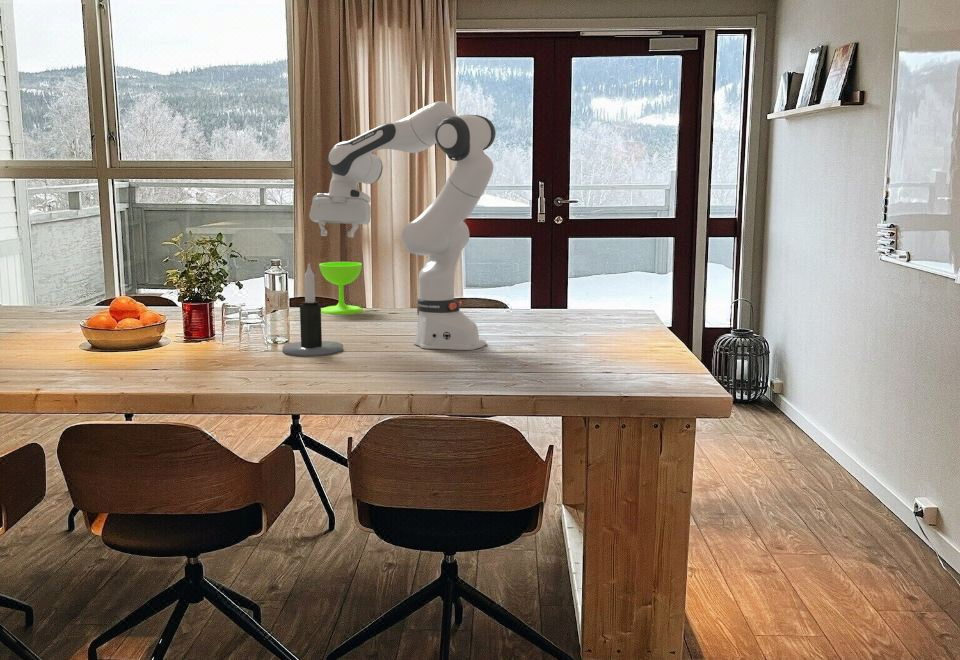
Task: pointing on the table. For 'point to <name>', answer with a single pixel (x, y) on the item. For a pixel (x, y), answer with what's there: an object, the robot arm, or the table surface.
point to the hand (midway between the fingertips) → (336, 236)
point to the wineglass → (341, 284)
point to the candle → (310, 314)
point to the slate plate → (312, 349)
